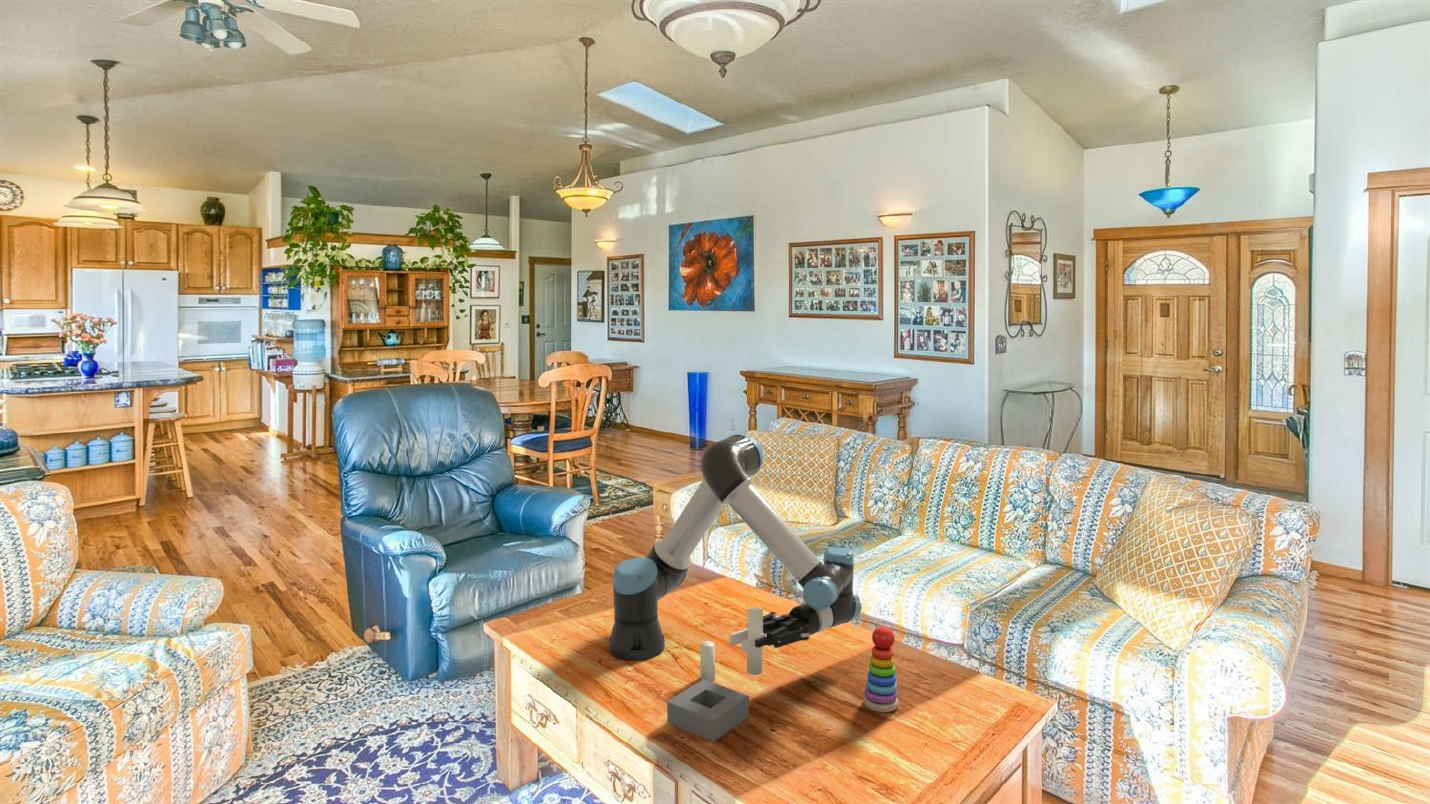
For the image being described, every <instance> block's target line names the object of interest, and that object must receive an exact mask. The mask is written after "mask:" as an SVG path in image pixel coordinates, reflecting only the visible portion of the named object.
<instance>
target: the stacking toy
mask: <svg viewBox="0 0 1430 804" xmlns="http://www.w3.org/2000/svg"><path fill="white" fill-rule="evenodd" d="M895 638H896V637H895V633H894V632H893V630H891V629H890V627H888V626H882V625H881V626H878V627H876V628H875V629H874V630H873V632H872V636H871V641H872V643H873V645H874V646H873V647H872V648H871V655H870V657H869V662H870V663H869V665H868V670H869V671H868V672H867V679H866V682H865V685H866V686H865V687H864V691H863V692H864V695H863V703H864V705H865V706H866V708H868V709H870V710H872V711H874V712H878V713H889V712H893V711H895V710H896V709H897V708H898V707H899V704H900V703H899V699H898V692H897V689H898V684H897V675H896V674H895V673H896V670H897V669H896V665H895V659H894V657H893V656H894V655H895V649H894V648H893V647H892V646H893V645H894V643H895V640H896V639H895Z"/></svg>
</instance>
